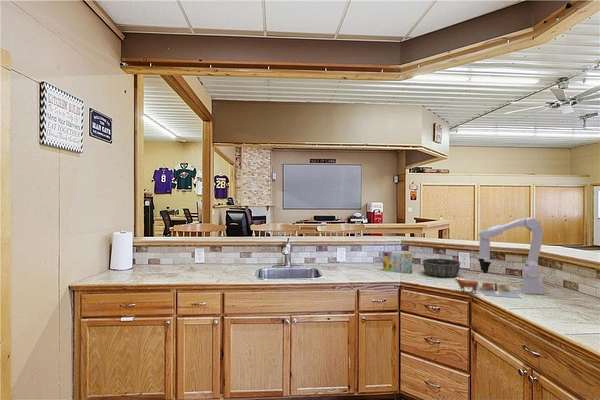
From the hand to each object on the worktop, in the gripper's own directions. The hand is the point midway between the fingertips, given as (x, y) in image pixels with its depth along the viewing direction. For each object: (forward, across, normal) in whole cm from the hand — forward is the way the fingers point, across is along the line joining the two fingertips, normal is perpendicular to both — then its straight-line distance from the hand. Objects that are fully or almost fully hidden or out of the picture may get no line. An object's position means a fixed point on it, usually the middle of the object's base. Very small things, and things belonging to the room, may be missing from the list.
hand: (484, 271), depth 222 cm
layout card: (+10, +8, +7) cm, 15 cm away
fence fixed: (+10, +4, +10) cm, 15 cm away
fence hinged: (+10, +5, +1) cm, 11 cm away
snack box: (+12, -40, -53) cm, 68 cm away
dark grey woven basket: (+11, -38, -22) cm, 45 cm away
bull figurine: (+11, +10, -11) cm, 19 cm away
